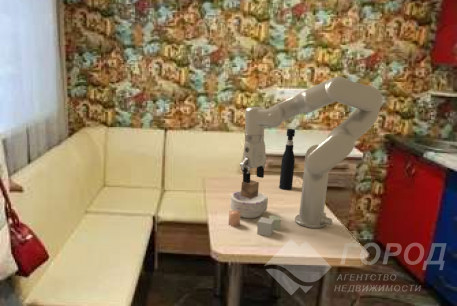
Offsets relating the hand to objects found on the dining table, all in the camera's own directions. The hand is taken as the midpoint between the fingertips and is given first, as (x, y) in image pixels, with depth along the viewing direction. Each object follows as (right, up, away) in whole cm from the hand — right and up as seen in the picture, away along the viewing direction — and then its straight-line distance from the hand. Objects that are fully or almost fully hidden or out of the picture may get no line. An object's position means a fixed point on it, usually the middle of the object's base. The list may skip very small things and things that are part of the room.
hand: (253, 179), depth 171 cm
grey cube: (+4, -19, -14) cm, 24 cm away
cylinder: (-8, -17, -8) cm, 20 cm away
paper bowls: (-2, -15, +4) cm, 15 cm away
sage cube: (+7, -18, -8) cm, 21 cm away
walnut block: (-2, -7, +2) cm, 7 cm away
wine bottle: (+19, -7, +41) cm, 46 cm away
